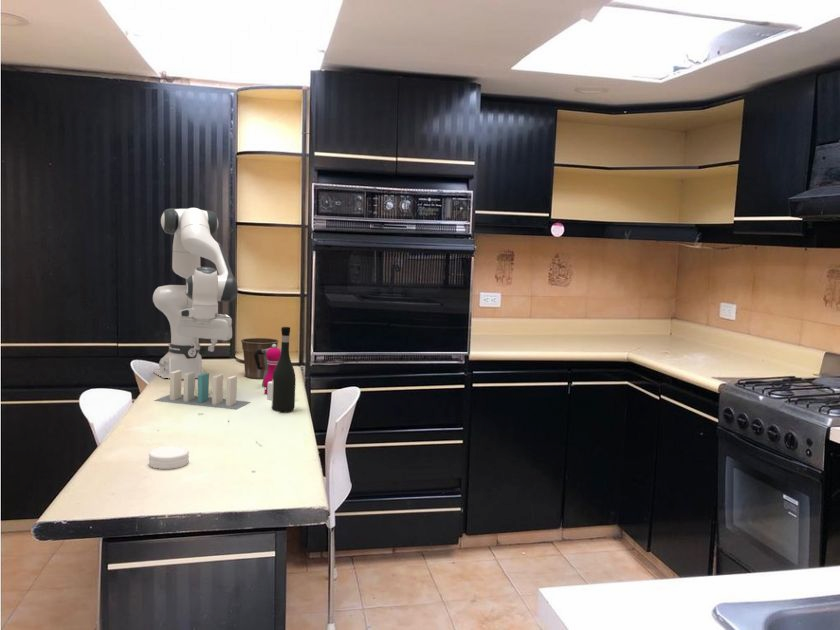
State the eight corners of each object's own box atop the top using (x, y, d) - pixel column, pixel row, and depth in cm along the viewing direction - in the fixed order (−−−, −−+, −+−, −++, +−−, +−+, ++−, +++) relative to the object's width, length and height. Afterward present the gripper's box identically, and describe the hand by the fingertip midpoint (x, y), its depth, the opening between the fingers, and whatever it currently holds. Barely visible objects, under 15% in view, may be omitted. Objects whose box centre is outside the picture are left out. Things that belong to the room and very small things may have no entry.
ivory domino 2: (183, 401, 242) (183, 374, 241) (190, 398, 247) (191, 371, 246) (187, 401, 242) (187, 374, 241) (194, 398, 247) (195, 372, 246)
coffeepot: (281, 382, 284) (283, 340, 283) (292, 386, 277) (294, 344, 275) (248, 385, 275) (249, 342, 273) (258, 390, 267) (259, 345, 266)
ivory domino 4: (225, 405, 239) (226, 378, 238) (232, 402, 244) (232, 375, 243) (229, 406, 239) (230, 378, 238) (236, 403, 244) (237, 376, 243)
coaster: (175, 455, 185) (176, 443, 185) (196, 464, 179) (196, 451, 179) (141, 463, 178) (141, 450, 177) (161, 473, 171) (161, 459, 171)
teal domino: (197, 402, 241) (197, 375, 240) (204, 399, 246) (205, 372, 245) (201, 403, 241) (202, 375, 240) (208, 400, 246) (209, 373, 245)
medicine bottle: (279, 403, 248) (280, 372, 246) (266, 400, 252) (267, 369, 251) (293, 400, 253) (294, 369, 252) (281, 397, 258) (282, 366, 256)
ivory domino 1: (169, 399, 243) (170, 372, 242) (177, 396, 248) (177, 370, 247) (173, 400, 243) (174, 373, 242) (181, 397, 248) (181, 370, 247)
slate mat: (153, 401, 240) (153, 400, 240) (171, 394, 252) (171, 393, 252) (236, 410, 235) (236, 409, 235) (251, 403, 247) (251, 401, 246)
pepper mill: (277, 397, 258) (279, 346, 256) (259, 395, 259) (261, 344, 257) (284, 393, 265) (286, 343, 263) (267, 391, 266) (269, 341, 264)
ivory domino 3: (211, 404, 240) (212, 376, 239) (218, 401, 245) (219, 374, 244) (215, 404, 240) (216, 377, 239) (222, 401, 245) (223, 374, 244)
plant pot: (237, 373, 298) (237, 337, 296) (273, 372, 305) (274, 337, 303) (243, 380, 284) (244, 343, 282) (281, 379, 290) (282, 342, 289)
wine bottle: (266, 410, 237) (269, 326, 234) (281, 406, 244) (284, 325, 241) (284, 414, 234) (287, 329, 230) (298, 409, 241) (302, 327, 237)
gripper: (235, 314, 241) (234, 351, 243) (183, 309, 245) (183, 346, 247) (227, 316, 235) (226, 354, 237) (174, 311, 239) (173, 349, 240)
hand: (204, 350), depth 242 cm, fingers open, 4 cm apart
